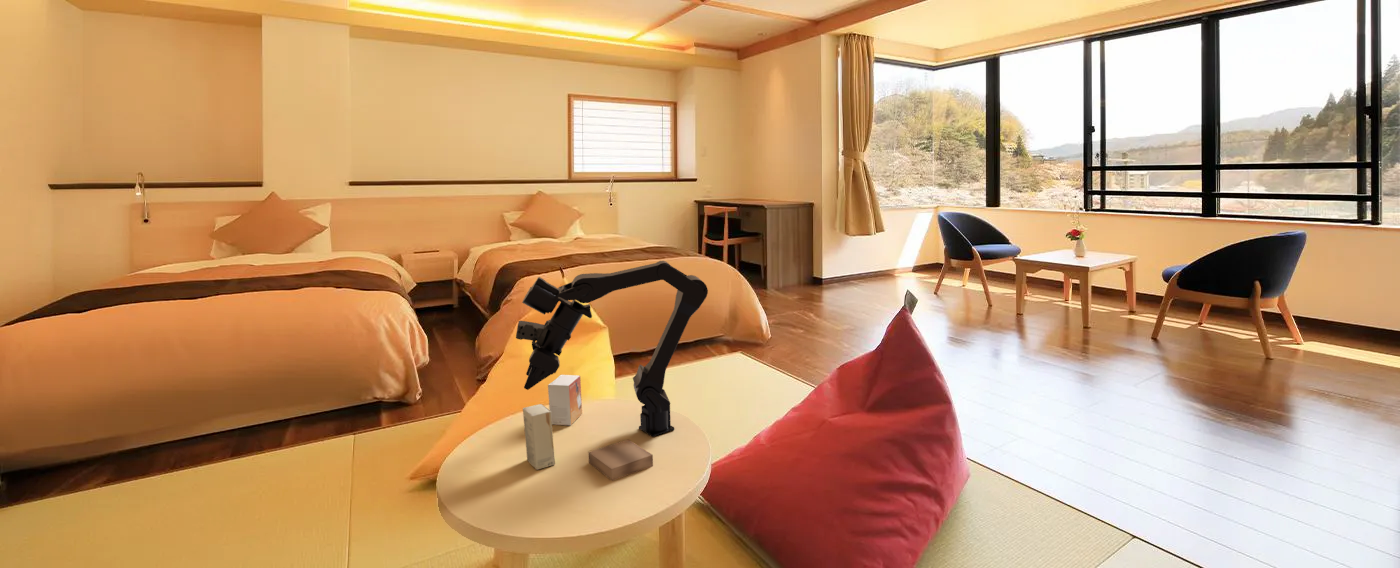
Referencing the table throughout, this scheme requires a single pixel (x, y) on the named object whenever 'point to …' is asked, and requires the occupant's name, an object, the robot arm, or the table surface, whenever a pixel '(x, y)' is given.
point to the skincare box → (538, 436)
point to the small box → (565, 399)
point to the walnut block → (620, 459)
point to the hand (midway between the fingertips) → (526, 381)
